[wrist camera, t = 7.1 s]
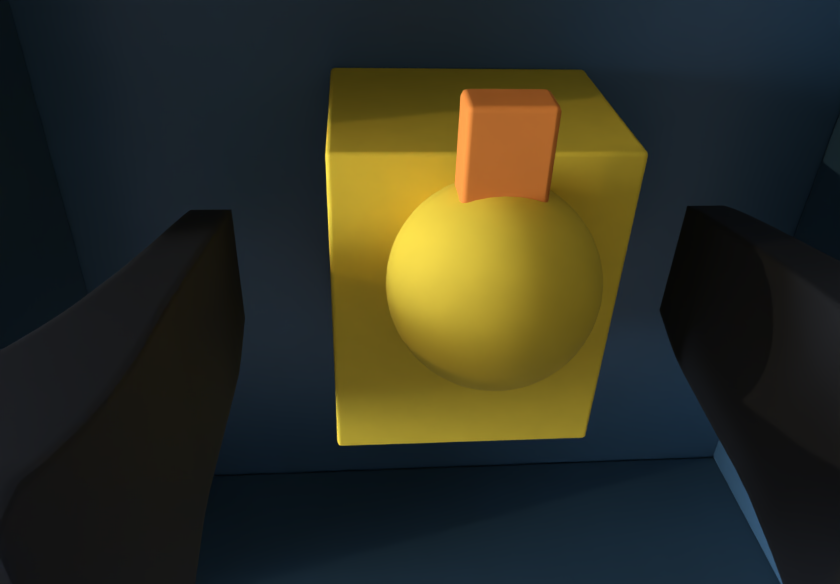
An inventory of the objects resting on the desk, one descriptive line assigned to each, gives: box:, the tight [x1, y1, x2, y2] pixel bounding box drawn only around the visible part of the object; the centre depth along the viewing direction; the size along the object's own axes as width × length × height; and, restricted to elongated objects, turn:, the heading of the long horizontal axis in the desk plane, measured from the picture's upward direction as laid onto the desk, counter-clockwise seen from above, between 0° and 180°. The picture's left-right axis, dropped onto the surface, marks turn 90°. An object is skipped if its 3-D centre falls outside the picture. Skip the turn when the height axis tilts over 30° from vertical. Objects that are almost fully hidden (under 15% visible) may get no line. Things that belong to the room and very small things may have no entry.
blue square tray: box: [0, 0, 840, 584], centre depth 12 cm, size 14×14×4 cm
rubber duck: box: [325, 68, 648, 446], centre depth 11 cm, size 6×4×5 cm, turn 178°
